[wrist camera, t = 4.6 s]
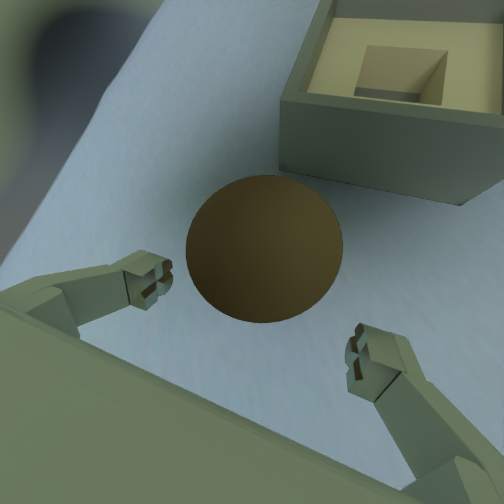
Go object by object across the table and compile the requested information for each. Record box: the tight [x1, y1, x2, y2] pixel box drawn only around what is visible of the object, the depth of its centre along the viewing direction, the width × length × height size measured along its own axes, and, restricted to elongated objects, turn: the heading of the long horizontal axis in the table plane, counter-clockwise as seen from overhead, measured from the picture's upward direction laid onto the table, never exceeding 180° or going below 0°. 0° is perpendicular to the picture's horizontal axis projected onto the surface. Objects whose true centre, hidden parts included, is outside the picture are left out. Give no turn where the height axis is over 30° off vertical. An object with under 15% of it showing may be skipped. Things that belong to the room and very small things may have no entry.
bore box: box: [279, 0, 504, 206], centre depth 18 cm, size 16×16×7 cm
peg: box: [186, 175, 343, 323], centre depth 11 cm, size 4×4×12 cm
